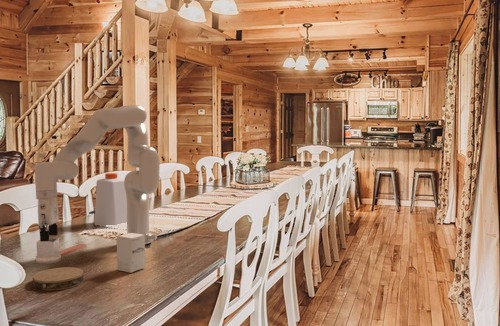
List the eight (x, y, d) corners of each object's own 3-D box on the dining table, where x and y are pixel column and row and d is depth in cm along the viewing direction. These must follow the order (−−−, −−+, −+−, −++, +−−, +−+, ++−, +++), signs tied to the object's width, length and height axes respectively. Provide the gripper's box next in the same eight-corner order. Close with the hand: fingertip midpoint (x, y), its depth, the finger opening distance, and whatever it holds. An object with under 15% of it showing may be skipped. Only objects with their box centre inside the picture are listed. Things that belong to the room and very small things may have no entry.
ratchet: (92, 248, 210) (91, 235, 209) (50, 265, 184) (50, 250, 184) (74, 247, 212) (73, 233, 212) (30, 263, 187) (30, 248, 186)
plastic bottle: (91, 227, 255) (89, 173, 253) (114, 222, 267) (113, 171, 265) (110, 231, 246) (109, 175, 244) (133, 226, 259) (132, 173, 257)
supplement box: (131, 273, 175) (130, 238, 174) (116, 270, 179) (115, 235, 178) (145, 268, 181) (145, 234, 180) (131, 265, 185) (130, 232, 184)
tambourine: (48, 274, 174) (48, 266, 174) (91, 276, 172) (91, 267, 172) (23, 289, 158) (22, 280, 158) (70, 291, 156) (69, 282, 156)
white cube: (59, 253, 193) (59, 238, 193) (54, 257, 187) (53, 241, 186) (43, 253, 193) (42, 238, 192) (37, 257, 186) (36, 242, 186)
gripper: (49, 197, 180) (51, 243, 181) (63, 190, 197) (66, 232, 198) (28, 198, 179) (30, 244, 181) (44, 191, 197) (47, 233, 198)
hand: (49, 238), depth 190 cm, fingers open, 9 cm apart
